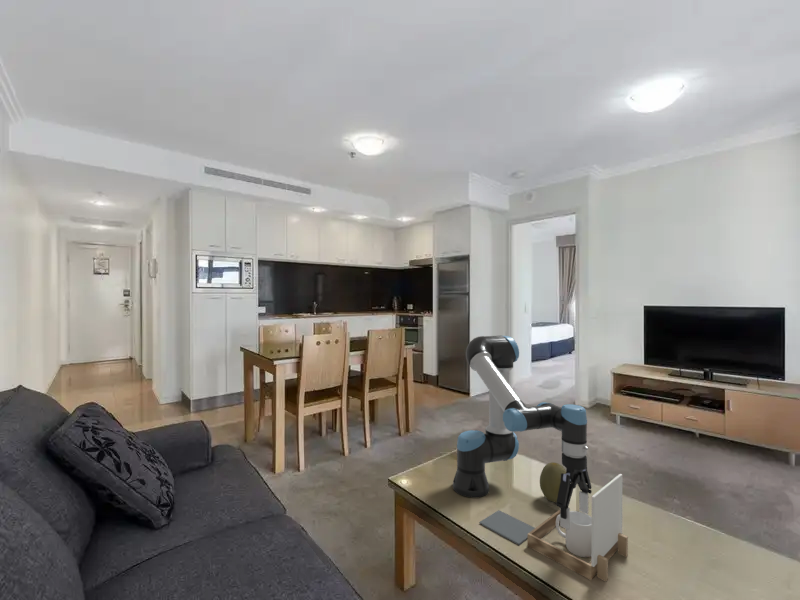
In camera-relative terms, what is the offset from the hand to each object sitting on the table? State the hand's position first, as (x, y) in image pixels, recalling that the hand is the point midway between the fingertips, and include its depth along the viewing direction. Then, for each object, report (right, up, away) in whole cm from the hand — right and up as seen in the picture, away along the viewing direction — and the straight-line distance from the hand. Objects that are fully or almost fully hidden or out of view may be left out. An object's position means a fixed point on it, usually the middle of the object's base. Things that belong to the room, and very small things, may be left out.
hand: (574, 519), depth 124 cm
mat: (-19, -9, +11) cm, 23 cm away
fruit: (+5, -9, +29) cm, 31 cm away
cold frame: (0, -9, 0) cm, 9 cm away
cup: (0, -9, 0) cm, 9 cm away
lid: (+7, -9, -8) cm, 14 cm away
